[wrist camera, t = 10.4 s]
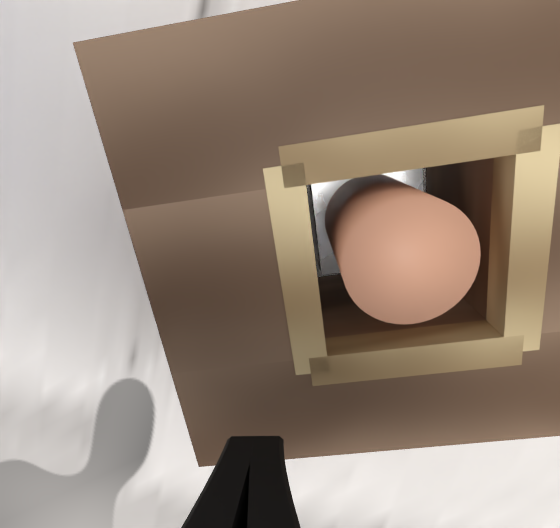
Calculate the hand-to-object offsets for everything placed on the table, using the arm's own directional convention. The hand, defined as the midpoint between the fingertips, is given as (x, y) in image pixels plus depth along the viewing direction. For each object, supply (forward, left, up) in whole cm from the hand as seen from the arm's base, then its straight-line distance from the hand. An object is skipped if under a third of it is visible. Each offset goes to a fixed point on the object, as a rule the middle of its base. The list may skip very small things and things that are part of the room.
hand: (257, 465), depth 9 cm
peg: (-4, +5, -9) cm, 11 cm away
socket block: (-4, +5, -10) cm, 12 cm away
